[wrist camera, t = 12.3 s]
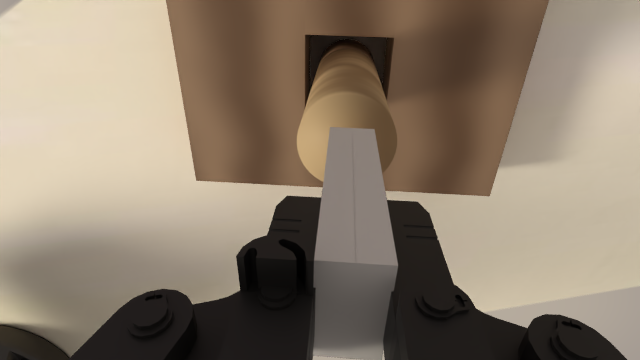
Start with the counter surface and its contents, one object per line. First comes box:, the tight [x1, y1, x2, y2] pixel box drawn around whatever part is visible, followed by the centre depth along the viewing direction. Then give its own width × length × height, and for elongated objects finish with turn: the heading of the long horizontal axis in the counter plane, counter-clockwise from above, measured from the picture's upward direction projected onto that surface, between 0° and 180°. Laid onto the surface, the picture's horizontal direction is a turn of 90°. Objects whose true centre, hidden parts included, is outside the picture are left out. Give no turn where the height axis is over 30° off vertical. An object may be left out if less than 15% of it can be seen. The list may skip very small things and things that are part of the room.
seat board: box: [166, 0, 549, 196], centre depth 25 cm, size 22×16×4 cm
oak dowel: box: [297, 39, 397, 182], centre depth 20 cm, size 4×4×14 cm
